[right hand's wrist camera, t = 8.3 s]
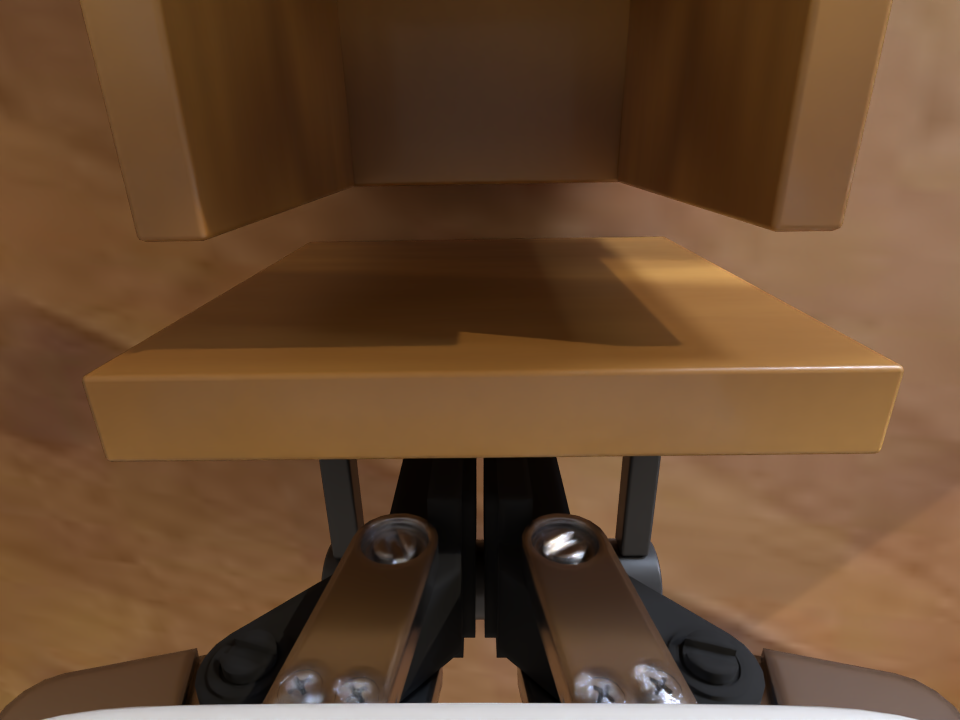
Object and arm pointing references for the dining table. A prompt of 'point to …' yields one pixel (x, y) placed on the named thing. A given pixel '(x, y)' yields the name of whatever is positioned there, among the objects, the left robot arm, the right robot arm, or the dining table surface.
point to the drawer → (488, 262)
